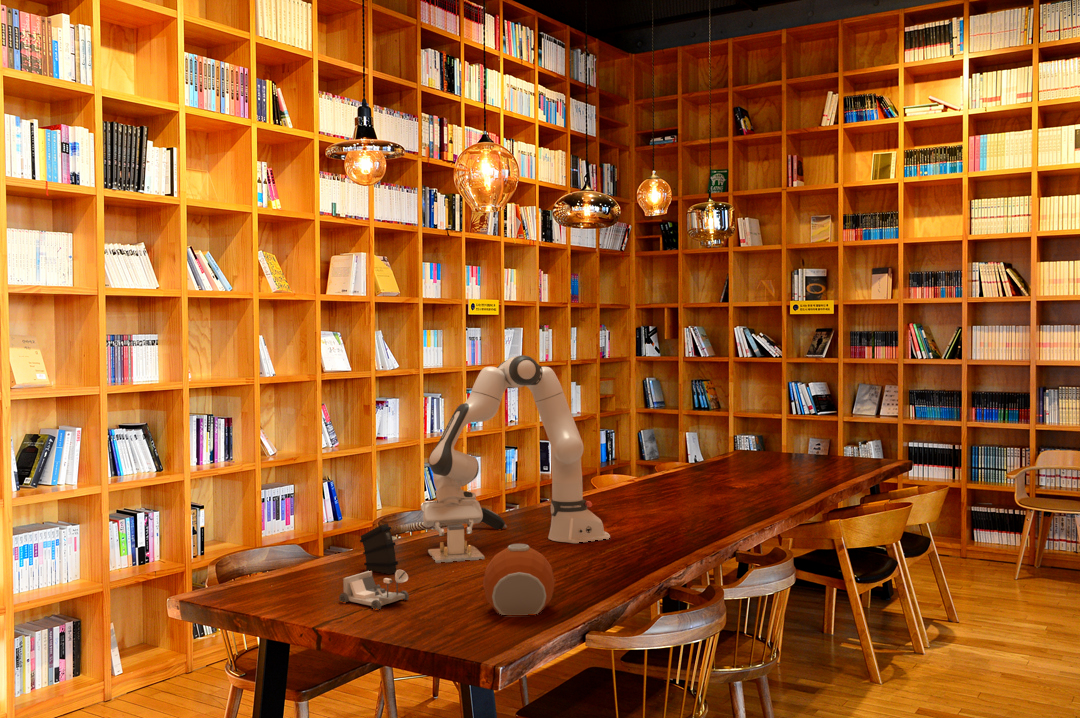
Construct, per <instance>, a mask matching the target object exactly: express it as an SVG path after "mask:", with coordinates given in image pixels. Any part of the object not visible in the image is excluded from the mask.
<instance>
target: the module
mask: <svg viewBox="0 0 1080 718" xmlns="http://www.w3.org/2000/svg"><path fill="white" fill-rule="evenodd" d="M446 538H447V539H446V541H447V542H446V543H447V544H446V545H447V546H446V547H448V553H449V554H461V553H464V541H465V526H464V524H456V525H446Z"/></svg>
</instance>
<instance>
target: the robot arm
mask: <svg viewBox="0 0 1080 718" xmlns="http://www.w3.org/2000/svg"><path fill="white" fill-rule="evenodd" d="M523 387H526V388H528V390H530V393H531V394H532V397H533V401H534V403H535V405H536V406H535V407H536V408H537V411H538V414H539V417H540V420H541V422H542V426H543V428H544V431H545V433H546V436H547V439H548V441H549V444H550V466H551V479H552V480H551V483H552V484H551V493H552V494H551V500H550V513H551V521H550V529H549V533H548V537H547V538H548V540H551V541H553V542H557V543H558V542H561V543H569V544H580V543H579V542H583V543H589V542H588V541H591V542H595V540H598V541H604V540H603V539H606V540H610V539H611V535H610V533H608V532H607V531H605V530H604V529H605V528H604V524H603V521H602V520H601V518H600V517H598V516H597V515H596V514H594V512H592V511H591V510H589V509H588V508H591V507H592V506H593V503H592V502H591V501H590V500H586V499H583V498H584V497H583V470H582V456H583V454H584V451H585V450H584V448H585V447H584V442H583V440H582V438H581V435H580V431H579V429H578V427H577V425H576V422H575V419H574V416H573V415H572V411H571V410H570V406H569V404H568V401H567V397H566V395H565V393H564V390H563V387H562V384H561V383H560V381H559V379H558V376H557V375H556V373H555V371H554V370H553V369H552V367H549V366H541V365H539V364H538V362H537V361H536V360H535V359H533V358H532V357H531V356H528V355H522V354H521V355H517V356H516V355H515V356H512V357H510V358H509V359H506V360H504V361H502V362H501V363H500V364H499V365H498V366H497V367H495V366H485V367H483V368H482V369H481V370H480V372H479V373H478V375H477V377H476V379H475V382H474V383H473V386H472V389H471V391H470V394H469V396H468V398H467V399H466V400H465V402H464V403H461V404H459V405H458V406H457V408H456V409H455V410H454V411H453V414H452V415H451V417H450V418H449V421H448V423H447V425H446V427H445V429H444V431H443V433H442V434H441V437H440V439H439V440H438V443H436V446H435V447H434V448H433V450H431V453H430V454H429V458H428V465H429V468H430V470H431V472H432V474H433V475H432V476H433V477H432V479H433V484H434V488H435V489H436V491H435V495H436V500H425V501H424V502H422V503H420V511H421V512H422V513H423V514H422V515H423V516H422V520H423V521H422V522H423V525H424V526H425V527H434V530H436V531H437V532H438V534H439V537H441V536H442V537H444V536H445V529H444V528H442V527H440V526H447V525H456V524H462V525H467V524H469V526H470V527H468V526H467V527H466V534H467V535H471V534H472V533H473V530H472V529H473V526H474V524H481V523H482V522H481V521H482V518H483V513H482V509H481V508H482V507H481V504H480V502H479V501H478V499H477V495H476V492H473V491H467V490H464V489H462V487H465V486H466V485H468V484H470V483H471V482H473V481H475V479H477V477H478V475H479V470H480V468H479V467H480V466H479V462H478V460H477V458H476V457H475V456H472V455H470V454H467V453H465V452H461V451H459V450H456V449H455V445H456V443H457V441H458V439H459V437H460V435H461V433H462V431H463V429H464V428H465V427H466V426H467V425H469V424H471V423H482V422H487V421H489V420H491V419H493V418H494V417H495V416H496V414H497V413H498V411H499V408H500V404H501V402H502V398H503V395H504V393H505V392H506V390H507V389H516V388H517V389H518V388H523ZM480 522H481V523H480ZM609 538H610V539H609Z"/></svg>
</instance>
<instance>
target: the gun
mask: <svg viewBox="0 0 1080 718" xmlns="http://www.w3.org/2000/svg"><path fill="white" fill-rule="evenodd" d="M481 509H482V513H483V518H482V521H481V522H480V523H479V524H481V523H483V524H486V525H487V526H489V527H491V528H493V529H495V530H496V529H502V530H503V529H506V528H508V525H507V524H506V521H505V520H504V519H503V518H502V517H501V516H500V515H499V514H498V513H496V512H494V511H492V510H490V509H488V508H485V507H481ZM466 525H467V527H470V526H469V524H466Z"/></svg>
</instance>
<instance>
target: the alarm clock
mask: <svg viewBox="0 0 1080 718" xmlns="http://www.w3.org/2000/svg"><path fill="white" fill-rule="evenodd" d="M553 571H554V570H553V568H552V565H551V564H550V562H549V561H548V560H547V558H546V557H545V556H544V555H543V554H542V553H540V552H539V551H538V550H536V549H534V548H532V547H530V546H529V545H528V544H526V543H512V544H509V545H508V546H507V547H505V548H504V549H502V550H501V551H499V552H498V553H496V554H495V555H494V556H493V557H492V559H491V560H490V562H488V564H487V565H486V568H485V571H484V575H483V576H484V577H483V581H482V585H483V590H484V594H485V599H486V601H487V602H488V604H489V605H490V606H491V607H492V608H493V610H494V611H495V612H496V613H497V614H498V613H499V614H498V615H500V614H501V615H500V616H502V615H528V614H537V615H539V614H538V613H539V612H541V611H542V610H544V609H546V606H547V605H548V604H549V603H550V602H551V600H552V598H553V593H554V590H555V584H556V580H555V576H554V572H553ZM542 612H543V611H542ZM542 612H541V613H542Z"/></svg>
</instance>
